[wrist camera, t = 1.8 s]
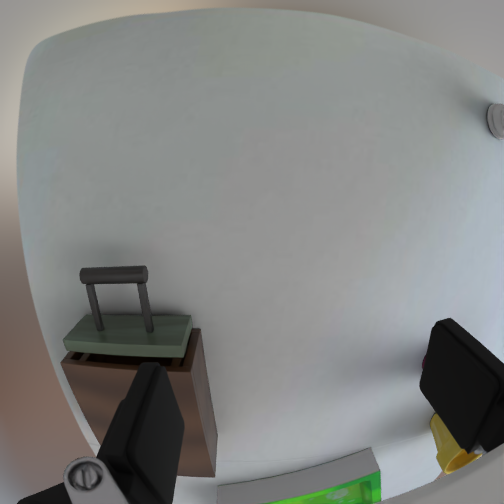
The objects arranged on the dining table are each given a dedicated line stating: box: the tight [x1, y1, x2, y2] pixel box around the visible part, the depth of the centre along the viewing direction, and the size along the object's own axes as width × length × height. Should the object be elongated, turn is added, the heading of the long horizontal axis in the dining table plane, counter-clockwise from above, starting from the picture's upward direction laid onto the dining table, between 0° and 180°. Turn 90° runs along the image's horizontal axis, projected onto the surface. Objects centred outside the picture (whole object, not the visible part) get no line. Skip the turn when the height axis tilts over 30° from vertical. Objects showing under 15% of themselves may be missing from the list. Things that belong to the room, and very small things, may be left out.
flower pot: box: [430, 413, 482, 474], centre depth 31 cm, size 10×10×10 cm
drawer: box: [63, 266, 192, 367], centre depth 26 cm, size 21×11×5 cm, turn 2°
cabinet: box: [61, 329, 218, 477], centre depth 27 cm, size 17×13×7 cm
